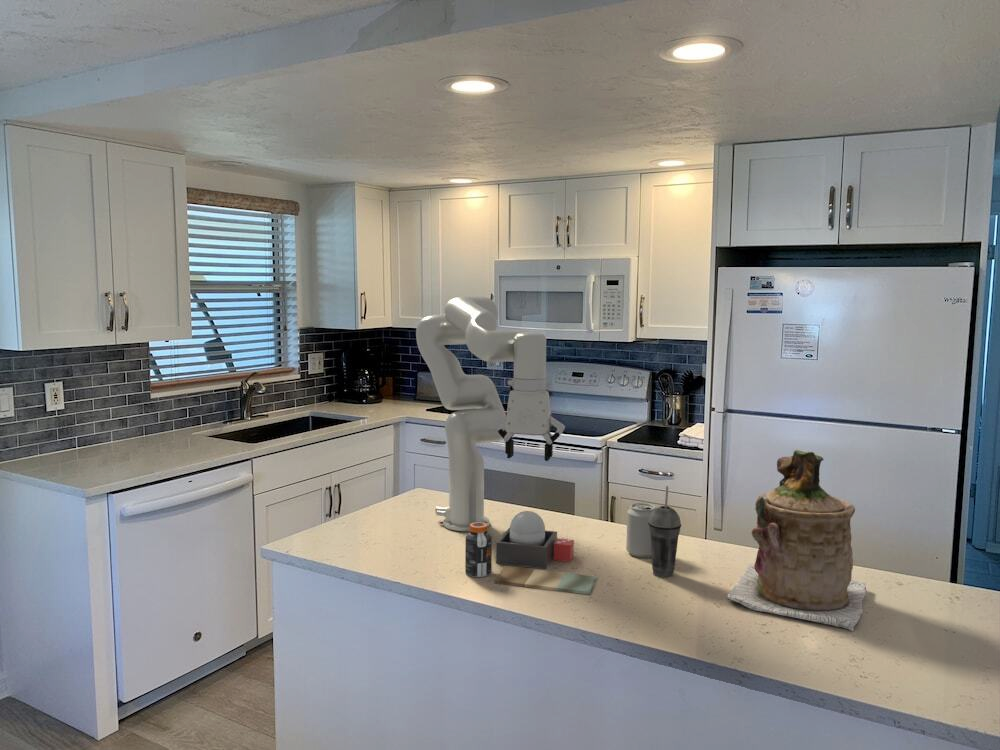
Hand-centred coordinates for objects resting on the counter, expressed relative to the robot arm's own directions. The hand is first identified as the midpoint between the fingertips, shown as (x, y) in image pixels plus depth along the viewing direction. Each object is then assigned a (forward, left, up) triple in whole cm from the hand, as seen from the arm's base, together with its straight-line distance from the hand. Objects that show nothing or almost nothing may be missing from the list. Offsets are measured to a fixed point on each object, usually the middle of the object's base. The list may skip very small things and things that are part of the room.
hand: (528, 458), depth 174 cm
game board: (+7, -13, -24) cm, 28 cm away
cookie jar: (+60, -6, -25) cm, 65 cm away
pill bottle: (-8, -13, -24) cm, 29 cm away
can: (+26, +11, -24) cm, 37 cm away
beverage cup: (+32, -1, -24) cm, 40 cm away
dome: (0, 0, -21) cm, 21 cm away
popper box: (+2, 0, -24) cm, 24 cm away
